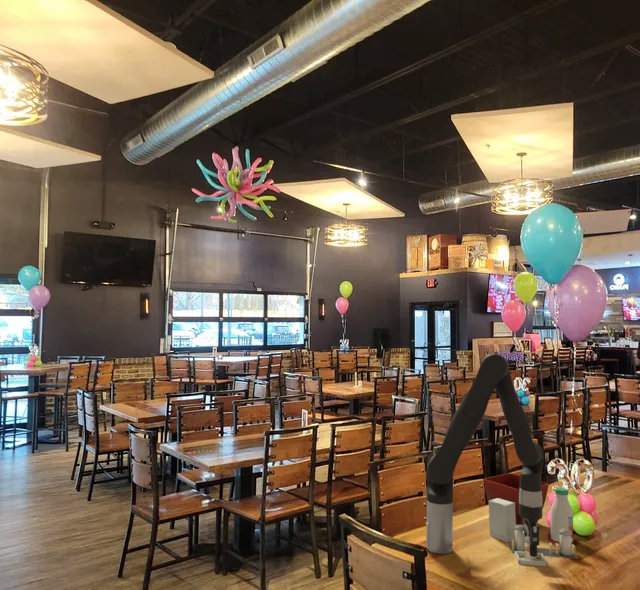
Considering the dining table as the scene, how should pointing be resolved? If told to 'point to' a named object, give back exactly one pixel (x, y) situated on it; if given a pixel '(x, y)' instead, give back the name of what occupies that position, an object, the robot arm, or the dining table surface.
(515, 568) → the dining table surface
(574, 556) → the fuse block
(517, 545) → the cylinder
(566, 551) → the cylinder
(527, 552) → the fuse marked
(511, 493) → the plant pot
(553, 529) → the milk bottle
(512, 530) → the skincare box
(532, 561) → the grey square frame
